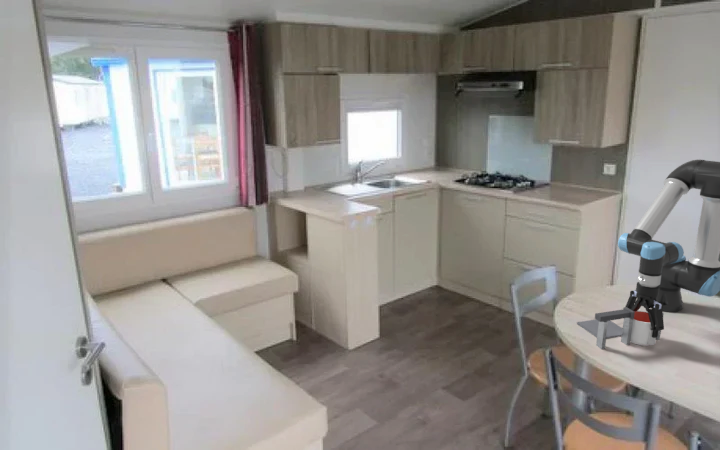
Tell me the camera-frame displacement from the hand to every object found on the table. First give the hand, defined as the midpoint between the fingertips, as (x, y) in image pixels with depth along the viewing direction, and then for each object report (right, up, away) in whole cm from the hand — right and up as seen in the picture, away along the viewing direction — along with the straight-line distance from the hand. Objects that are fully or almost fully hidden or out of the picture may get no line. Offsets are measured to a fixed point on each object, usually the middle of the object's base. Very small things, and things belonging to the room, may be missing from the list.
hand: (640, 337), depth 201 cm
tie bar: (-13, +8, -6) cm, 17 cm away
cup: (0, -1, 0) cm, 2 cm away
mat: (-10, +1, +10) cm, 14 cm away
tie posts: (-5, -2, -1) cm, 6 cm away
